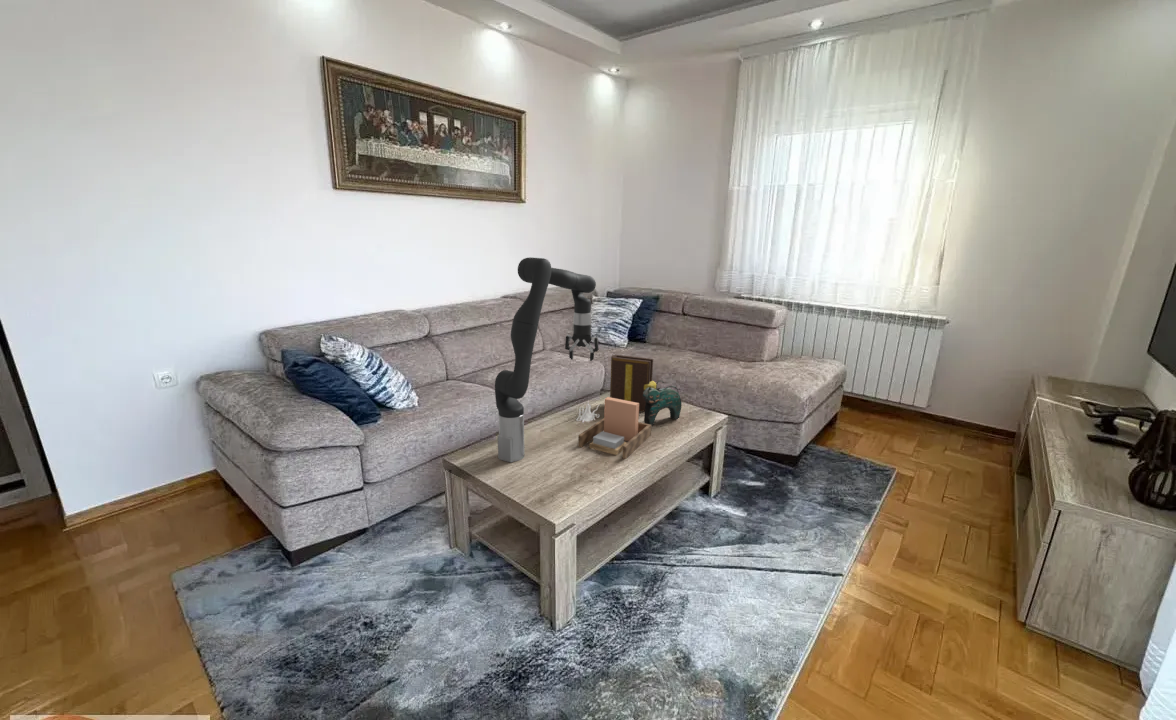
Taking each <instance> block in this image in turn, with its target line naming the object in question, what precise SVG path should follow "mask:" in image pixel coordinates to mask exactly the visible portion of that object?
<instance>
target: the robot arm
mask: <svg viewBox="0 0 1176 720" xmlns="http://www.w3.org/2000/svg"><path fill="white" fill-rule="evenodd" d="M517 274H518V276H519V278H520V280H522V281H523V282H525V283H528V284H531V285H530V290H529V293H528V295H527V297H526V299H525V300H524V302H523V303H522V304H521V306H519V308H518V309H517V311H516V312H515V314H514V316H513V319H512V323H511V329H510V341H511V346H512V347H513V352H514V358H515V360H514V366H513V367H514V368H513V371H512V370H508V369H504V370H501V371H500V372H499V373H498V374H497V375H496V377H495V381H494V394H495V395H494V397H495V406H496V409H497V411H498V435H497V456H498V457H497V458H498V460H500V461H504V462H507V463H513V462H518V461H520V460H522V459H524V458H525V410H524V405H523V404H522V403H521V402H520V401H519V399H522V398H523V397H524V396H525V395H526V393H527V390H528V389H529V388H528V387H529V382H530V374H531V364H532V357H533V352H534V347H535V342H536V341H535V340H536V337H537V334H538V333H537V332H538V329H539V321H540V318H541V313H542V309H543V303H544V301H545V296H546V293H547V290H548V289H549V288H548V287H549V285H552V286H556V287H559V288H562V289H566V290H571V295H572V299H573V304H574V306H573V307H574V309H573V321H572V322H573V325H572V326H573V329H572V335H569V334H568V335H566V336H565V342H564V349H565V350H568V352H569V353H568V357H569V359H570V360H574V349H575V348H576V347H579V348H580V347H583V348H587V349H588V350H589V361H590V362H593V360H594V359H595V353H596V352H598V351H599V337H598V336H595V337H594V336H593V337H592V301H591V299H590V298H589V297H586V296H584V294H590V293H593V292H594V291H595V289H596V287H597V283H596V279H594V277H593V276H591V275H587V274H580V273H576V272H573V271H570V270H568V269H563V268H557V267H556V268H555V267H552V265H551V262H550V261H549V259H547V258H543V257H525V258H523V259H521V260H520V261H519V263H518V265H517ZM570 341H573V344H572V345H571V346H570ZM591 342H592V343H594V346H592V344H591Z"/></svg>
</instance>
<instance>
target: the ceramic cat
mask: <svg viewBox="0 0 1176 720" xmlns="http://www.w3.org/2000/svg"><path fill="white" fill-rule="evenodd" d="M660 382H662V383H664V381H663V380H662V379H661V380H658V381H657V382H656V389H654V388H650V387H649V388H647V389H645V390H644V392H643V399H644V400H645V401H646V404H645V411H643V412H644V416H643V417H644V418H643V423H646V424H650V425H652V426H654V424H655V421H656V418H657V415H658V414H659V412H661V411H662V410H664V409H668V410H669V417H670V419H672V420H678V418H679V419H680V415H681V411H682V403H683V402H682V398H681V396H680V394H679V389H678V387H677V386H674V385H670V386H666V387H663V388H661V387H658V384H659V383H660ZM672 388H675V389H676V390H677V391H676V390H675V389H672Z"/></svg>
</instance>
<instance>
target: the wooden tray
mask: <svg viewBox="0 0 1176 720" xmlns="http://www.w3.org/2000/svg"><path fill="white" fill-rule="evenodd" d="M652 426H653V425H650V424H646V423H644V422H641V421H638V434H637V435H636V436H634V437H633V438H632V439H631V440H630V441H626V442H627V443H626V444H625V445H624V446H623V450H622V459H624V460H626V459H627V458H628V457H629V456H630V455H632V454H633V453H634V452H635V451H637V449H638V448H639V447H640V446H642V444H644V443H645V442H646V441H647V440H648V439H649V438H650V437H651V436H652ZM602 431H603V432H604V417H603V418H602V419H600V420H599V421H598V422H595V423H594V424H593V425H591V426H590V427H588V428H587V429H586V430H584V431H583V432H581V433H580V434H578V438H577V440H578V441H577V442H578V444H577V446H578V448H582V447H584V446H586V444H588V443H590V442H592V441H593V437H594V436H596V435H597V434H599V433H600V432H602Z"/></svg>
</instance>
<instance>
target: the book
mask: <svg viewBox="0 0 1176 720" xmlns="http://www.w3.org/2000/svg"><path fill="white" fill-rule="evenodd" d="M610 361H611V362H610V387H609V388H610V390H609V397H611V398H616V399H621V400H626V401H631V402H636V403H639V412H644V411H645V404H646V401H645V400H644V399H643V392H644V390H645V389H647V388H649V387H650V388H654V389H657V388H656V384H657V382H655V381H654V380H653V373H654V358H649V357H641V356H633V355H632V356H631V355H623V354H613V355H611V357H610Z"/></svg>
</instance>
